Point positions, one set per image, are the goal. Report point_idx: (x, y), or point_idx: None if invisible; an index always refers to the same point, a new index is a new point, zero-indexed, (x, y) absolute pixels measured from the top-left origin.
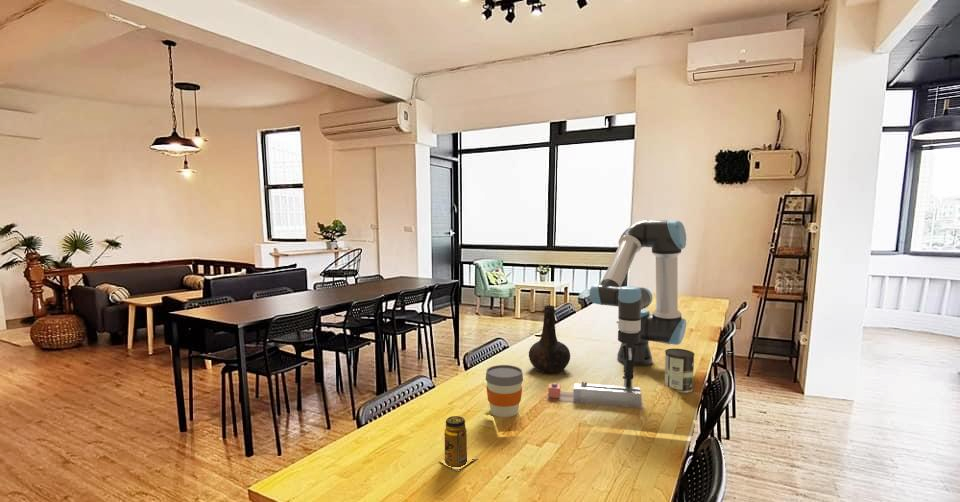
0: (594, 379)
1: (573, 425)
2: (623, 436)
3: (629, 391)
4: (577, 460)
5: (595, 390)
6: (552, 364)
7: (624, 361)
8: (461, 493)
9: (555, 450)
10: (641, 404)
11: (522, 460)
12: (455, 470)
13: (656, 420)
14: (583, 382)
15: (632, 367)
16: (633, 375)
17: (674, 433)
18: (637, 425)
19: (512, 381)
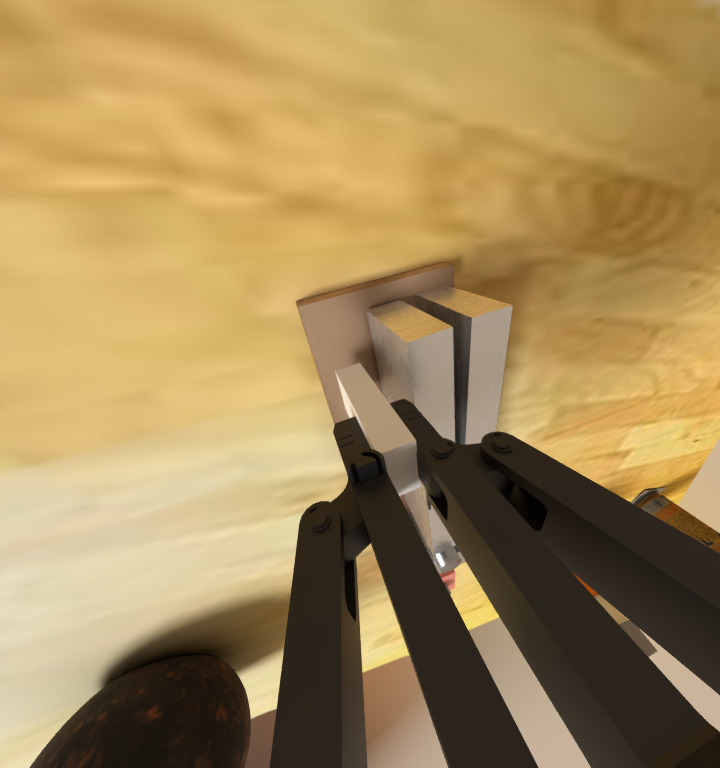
0: (122, 573)
1: (557, 444)
2: (631, 310)
3: (481, 387)
4: (695, 377)
5: None
6: (232, 705)
7: (363, 715)
8: (705, 459)
9: (650, 424)
10: (396, 291)
11: (664, 448)
12: (663, 490)
13: (522, 181)
14: (449, 567)
15: (708, 556)
16: (382, 460)
17: (660, 57)
18: (567, 276)
19: (642, 633)
